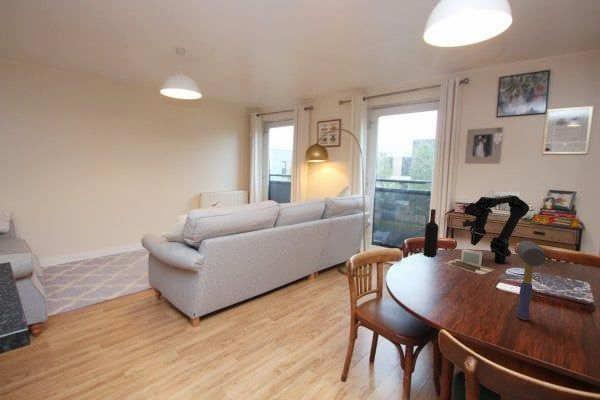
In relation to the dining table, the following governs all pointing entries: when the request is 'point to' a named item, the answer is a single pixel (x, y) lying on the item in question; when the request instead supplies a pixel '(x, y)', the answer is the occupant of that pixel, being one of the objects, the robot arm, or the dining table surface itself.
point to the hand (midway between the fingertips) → (472, 244)
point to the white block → (471, 257)
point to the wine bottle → (431, 236)
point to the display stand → (469, 267)
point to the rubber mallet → (528, 274)
